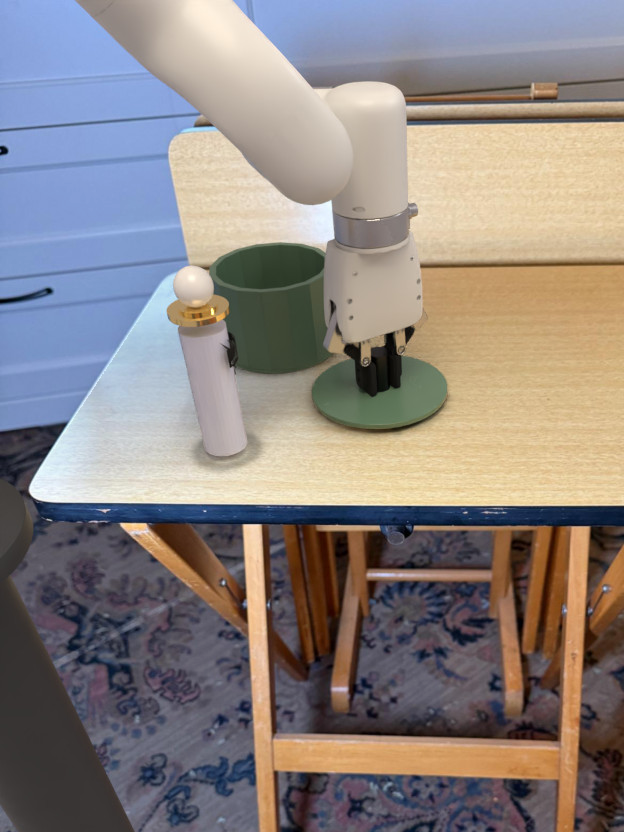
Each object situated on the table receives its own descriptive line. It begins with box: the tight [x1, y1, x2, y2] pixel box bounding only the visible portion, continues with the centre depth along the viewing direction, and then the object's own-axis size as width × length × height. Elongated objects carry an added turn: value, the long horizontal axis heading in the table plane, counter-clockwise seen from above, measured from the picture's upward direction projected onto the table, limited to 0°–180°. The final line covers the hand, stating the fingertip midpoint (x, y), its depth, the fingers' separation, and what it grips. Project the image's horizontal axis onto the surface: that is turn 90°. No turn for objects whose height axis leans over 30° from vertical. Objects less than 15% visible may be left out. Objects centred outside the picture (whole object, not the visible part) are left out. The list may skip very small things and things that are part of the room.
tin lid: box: [311, 346, 449, 430], centre depth 90 cm, size 16×16×6 cm
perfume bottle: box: [166, 264, 248, 457], centre depth 78 cm, size 6×6×20 cm
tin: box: [208, 241, 334, 375], centre depth 99 cm, size 15×15×10 cm
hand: (379, 385), depth 91 cm, fingers closed on tin lid, 2 cm apart
